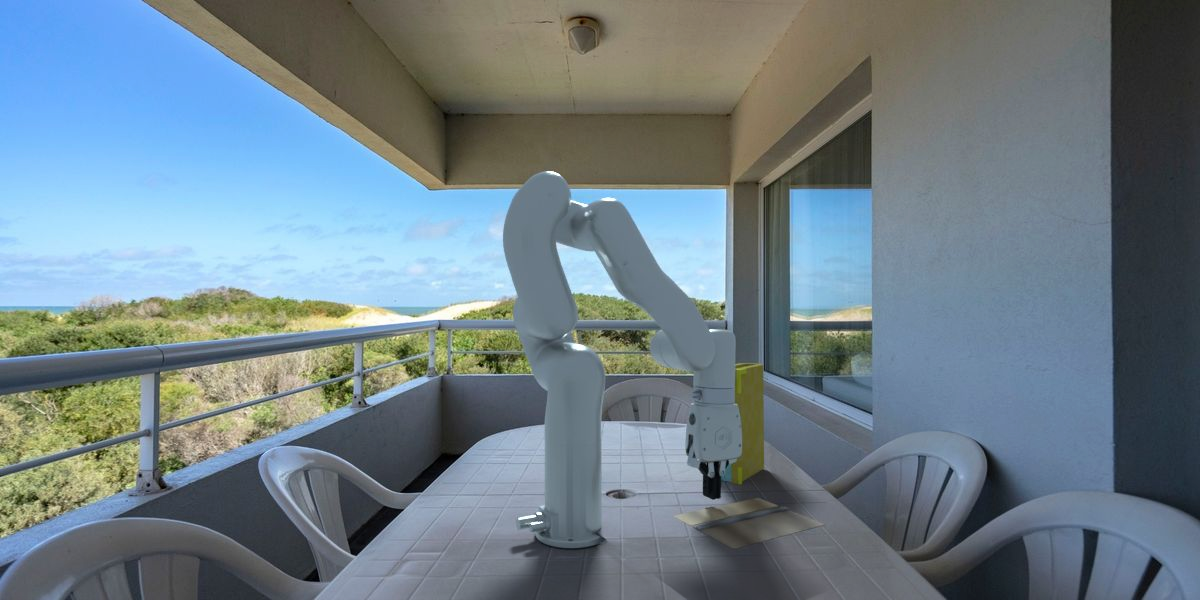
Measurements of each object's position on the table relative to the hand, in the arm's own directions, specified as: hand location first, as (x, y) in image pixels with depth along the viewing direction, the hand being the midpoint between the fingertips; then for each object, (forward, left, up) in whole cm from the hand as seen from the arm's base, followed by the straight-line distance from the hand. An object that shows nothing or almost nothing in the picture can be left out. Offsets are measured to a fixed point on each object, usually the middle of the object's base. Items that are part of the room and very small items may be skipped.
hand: (711, 496), depth 102 cm
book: (+20, +14, -3) cm, 24 cm away
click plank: (+1, -1, -3) cm, 3 cm away
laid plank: (+1, -11, -3) cm, 12 cm away
